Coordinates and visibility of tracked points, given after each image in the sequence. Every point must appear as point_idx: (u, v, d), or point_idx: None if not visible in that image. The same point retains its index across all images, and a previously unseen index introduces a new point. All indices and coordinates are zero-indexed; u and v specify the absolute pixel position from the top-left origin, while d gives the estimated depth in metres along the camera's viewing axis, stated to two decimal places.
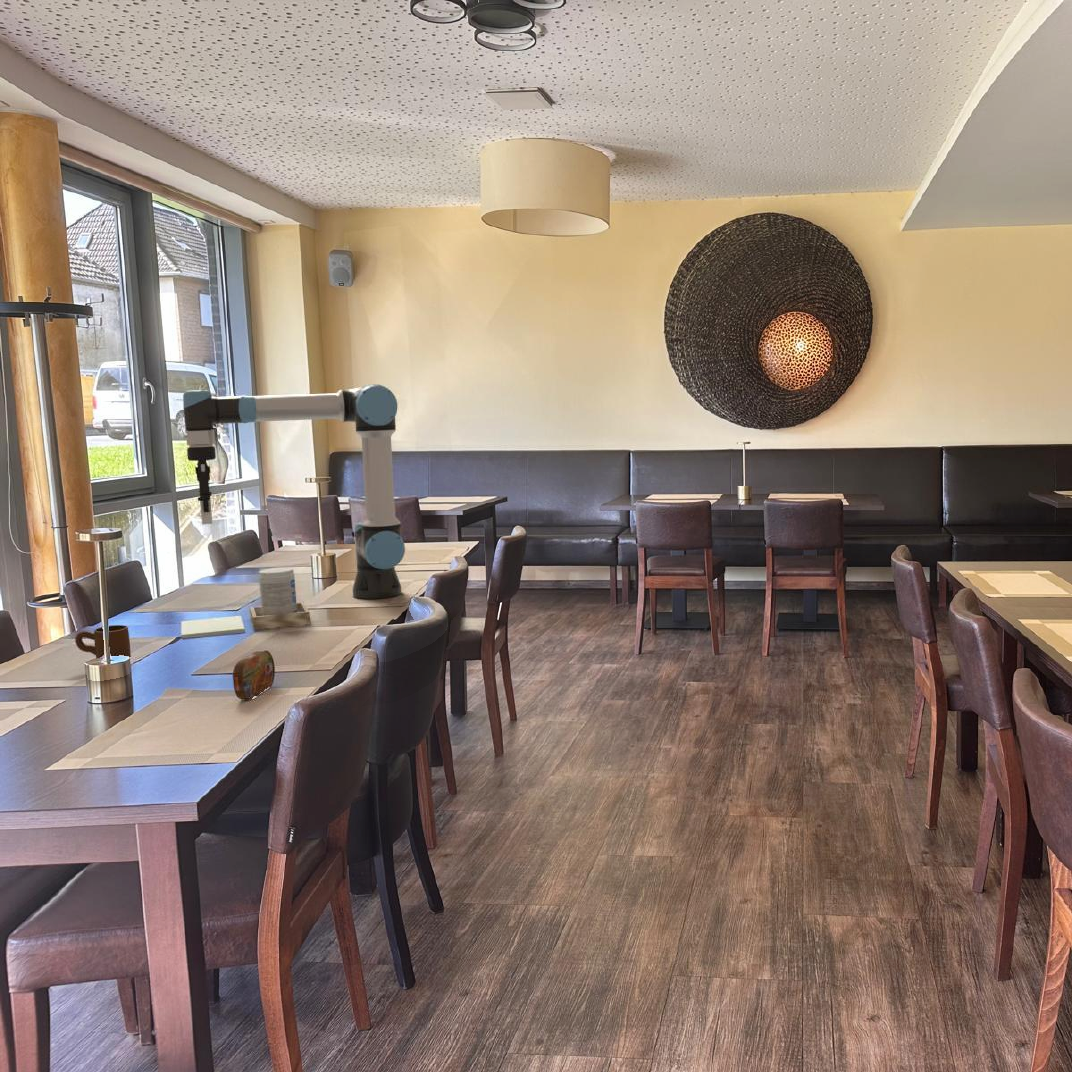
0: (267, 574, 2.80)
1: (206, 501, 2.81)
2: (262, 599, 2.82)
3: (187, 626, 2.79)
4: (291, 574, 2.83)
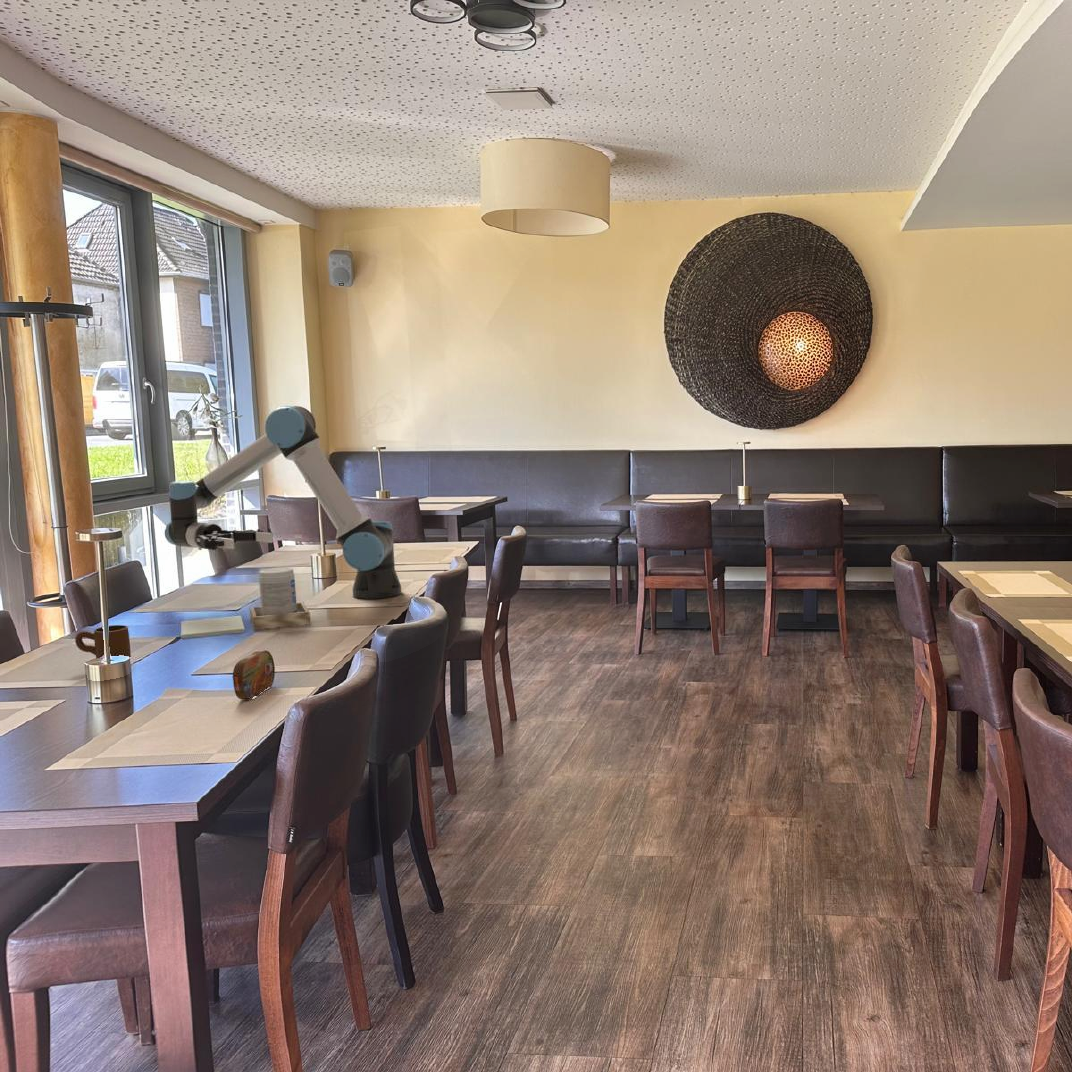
0: (267, 574, 2.80)
1: (213, 542, 2.85)
2: (262, 599, 2.82)
3: (187, 626, 2.79)
4: (291, 574, 2.83)
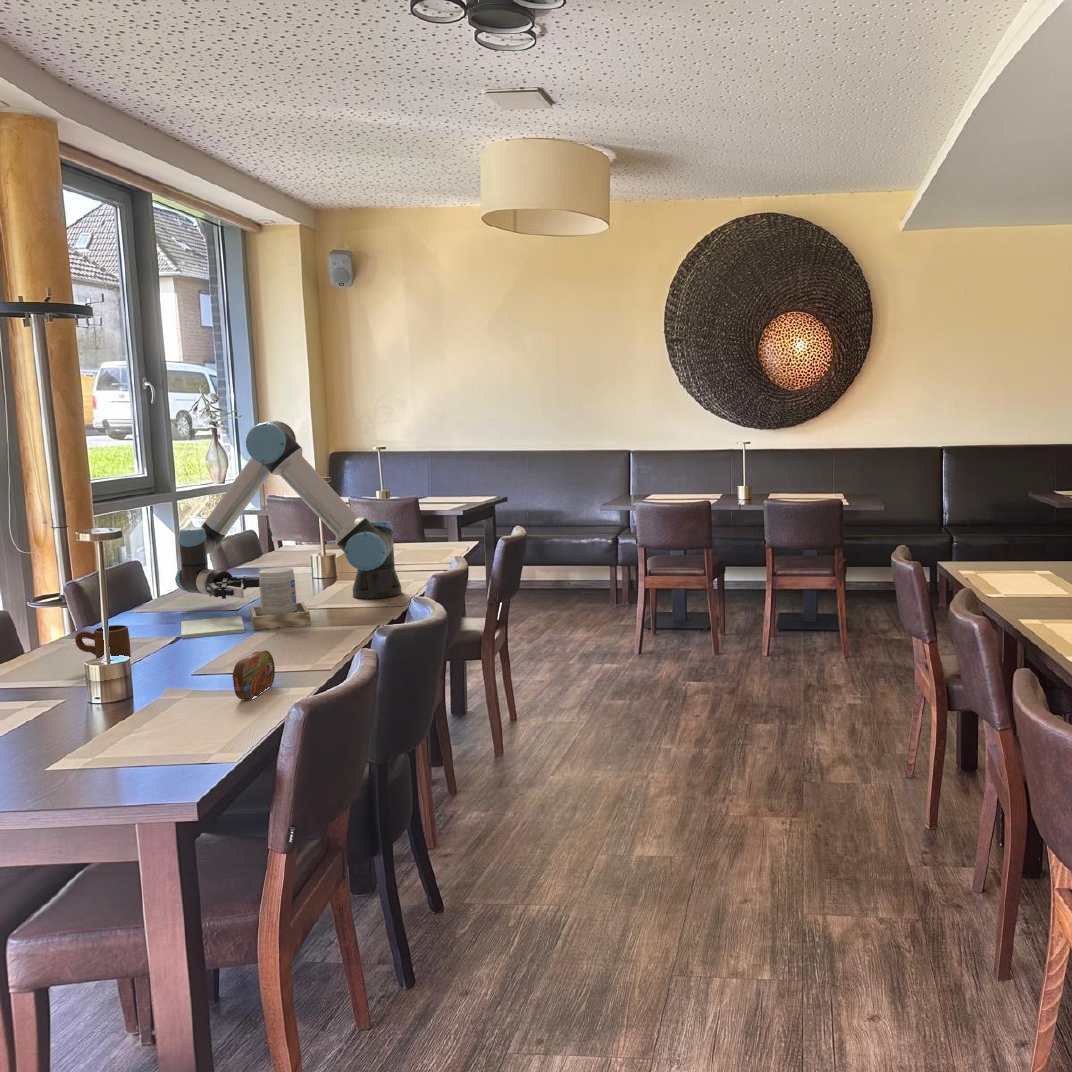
0: (267, 574, 2.80)
1: (223, 591, 2.85)
2: (262, 599, 2.82)
3: (187, 626, 2.79)
4: (291, 574, 2.83)
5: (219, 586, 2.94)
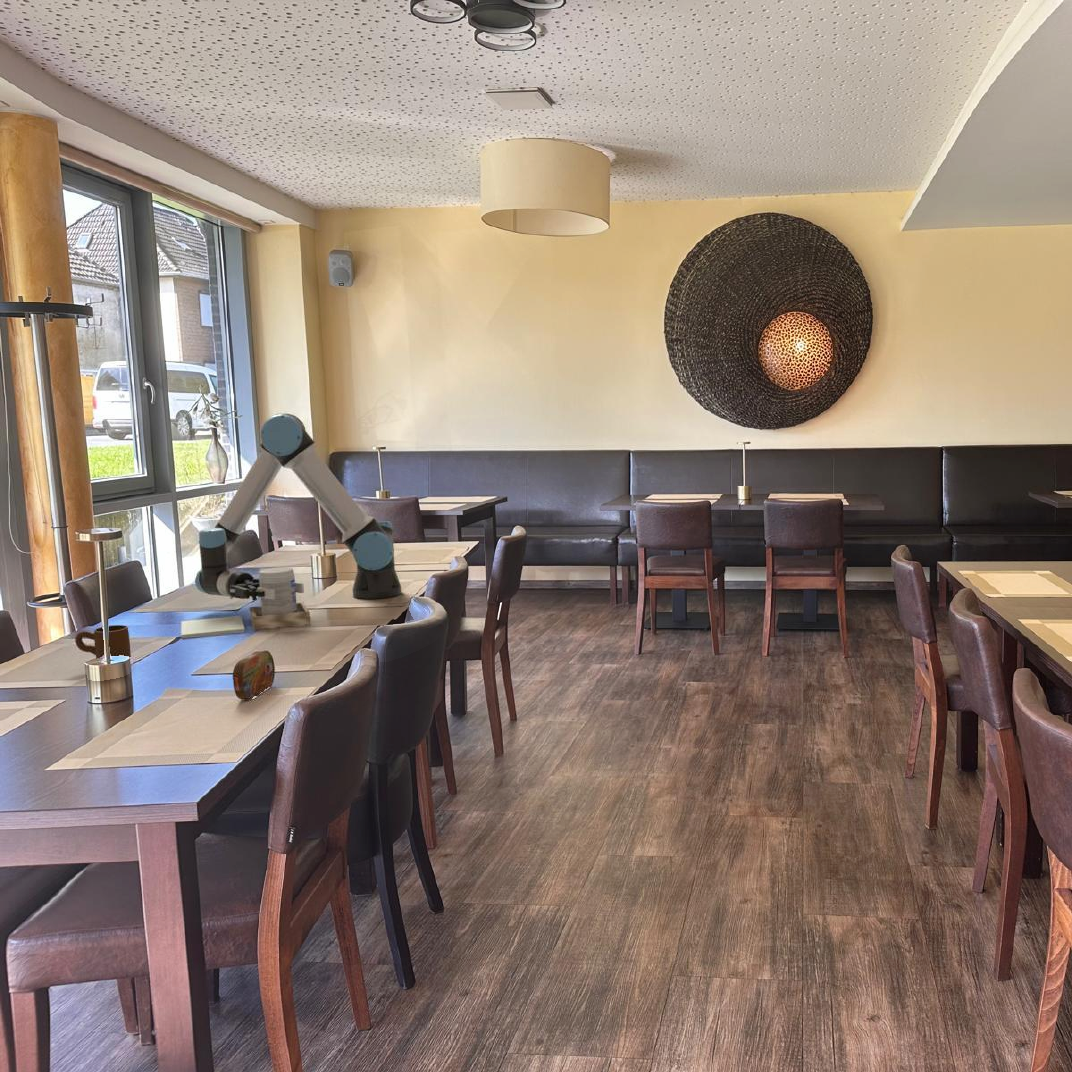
0: (267, 574, 2.80)
1: (254, 592, 2.80)
2: (262, 599, 2.82)
3: (187, 626, 2.79)
4: (291, 574, 2.83)
5: None
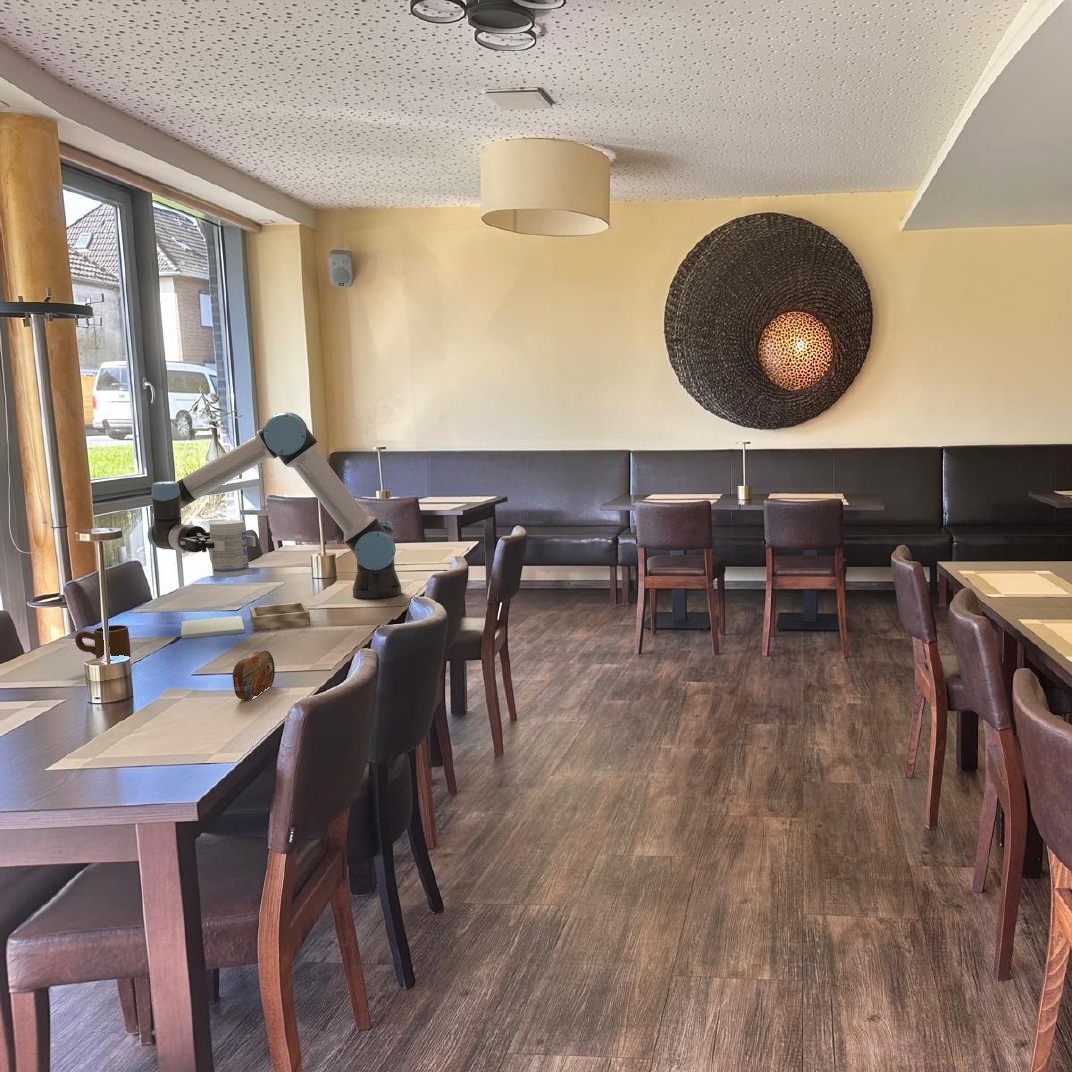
0: (217, 525, 2.74)
1: (203, 544, 2.75)
2: (212, 551, 2.77)
3: (187, 626, 2.79)
4: (242, 526, 2.77)
5: None
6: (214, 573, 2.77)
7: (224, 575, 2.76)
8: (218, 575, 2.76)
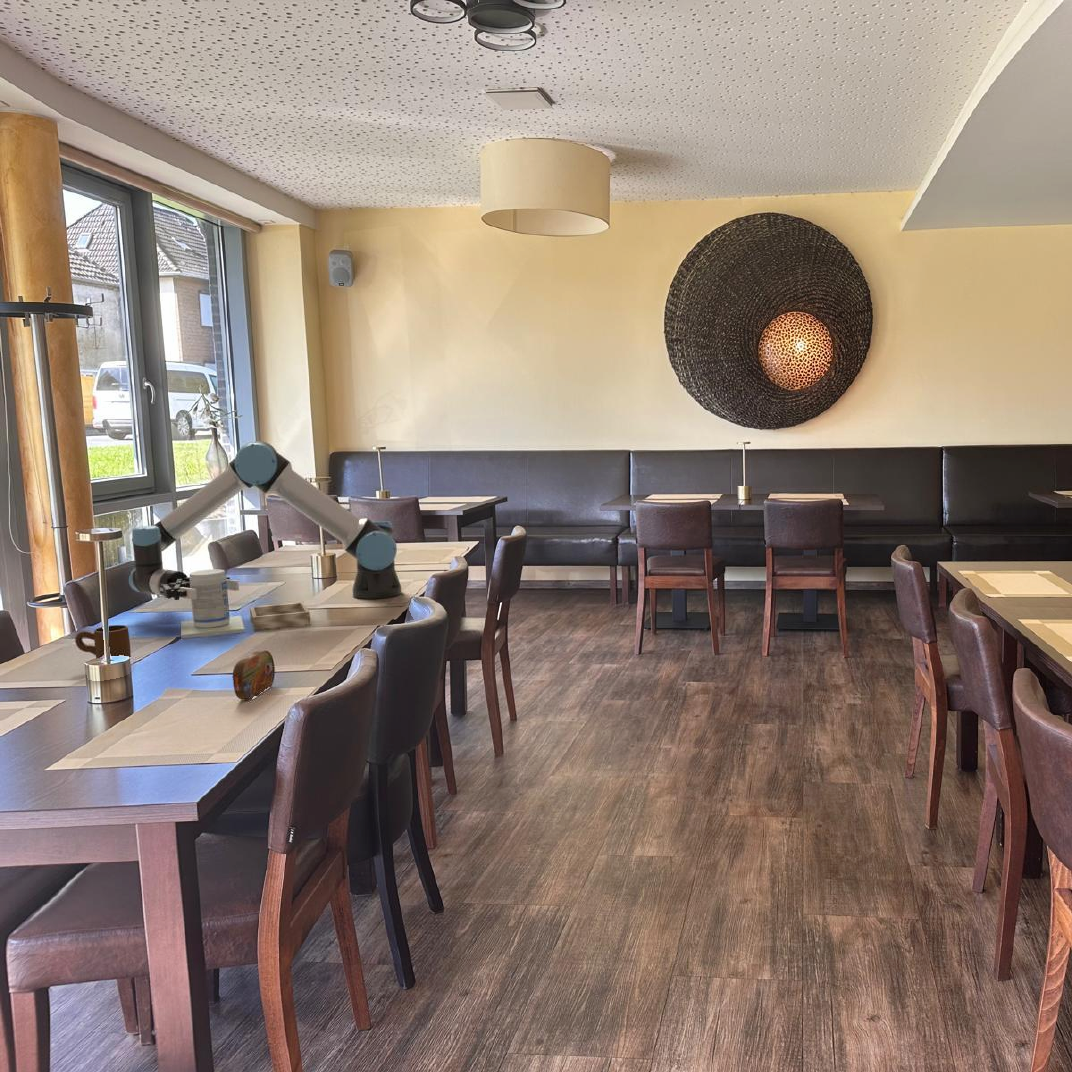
0: (197, 576, 2.74)
1: (176, 592, 2.74)
2: (192, 602, 2.76)
3: (187, 626, 2.79)
4: (222, 576, 2.77)
5: (173, 587, 2.83)
6: (195, 623, 2.77)
7: (205, 626, 2.75)
8: (198, 625, 2.76)
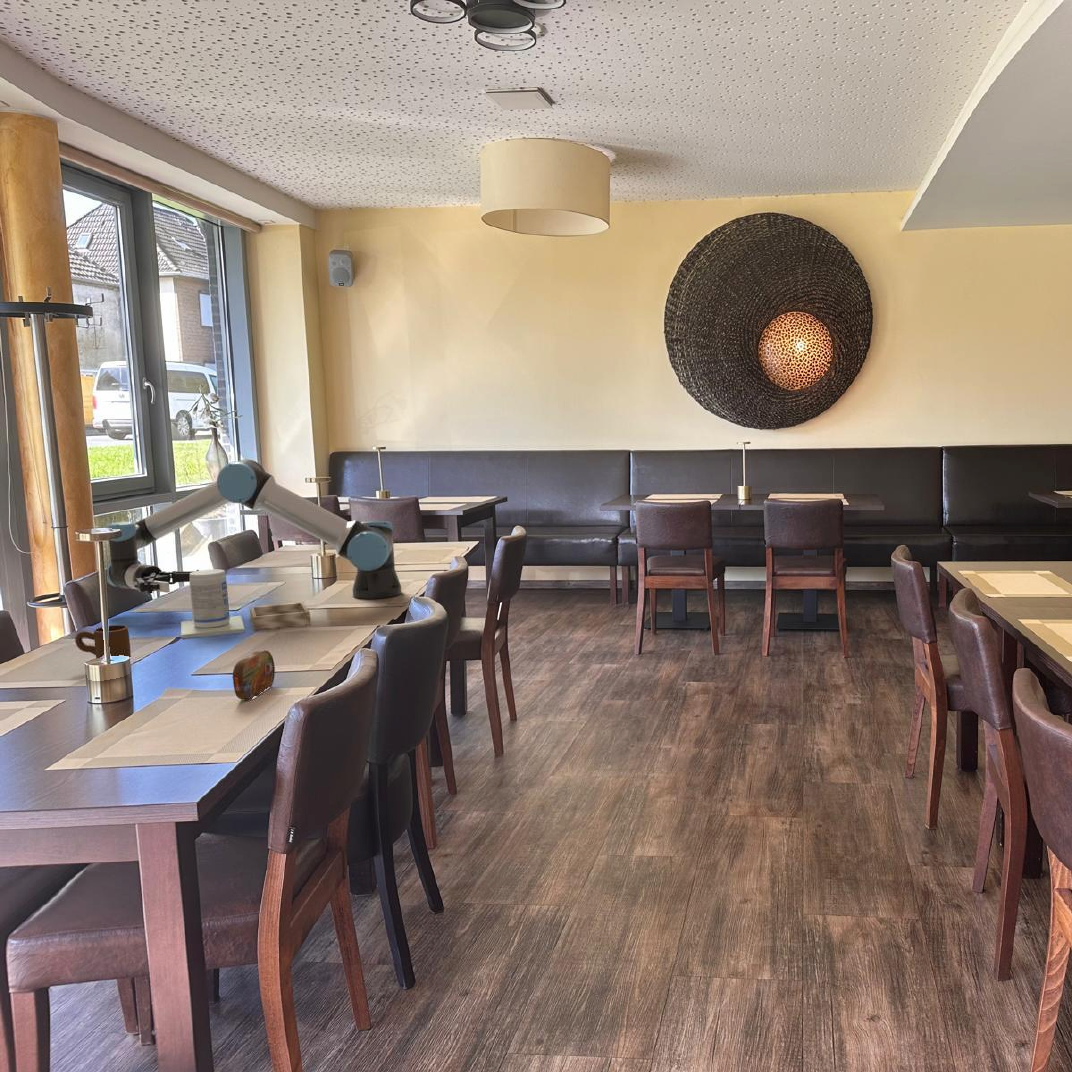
0: (197, 576, 2.74)
1: (149, 585, 2.82)
2: (192, 602, 2.76)
3: (187, 626, 2.79)
4: (222, 576, 2.77)
5: (147, 581, 2.91)
6: (195, 623, 2.77)
7: (205, 626, 2.75)
8: (198, 626, 2.76)
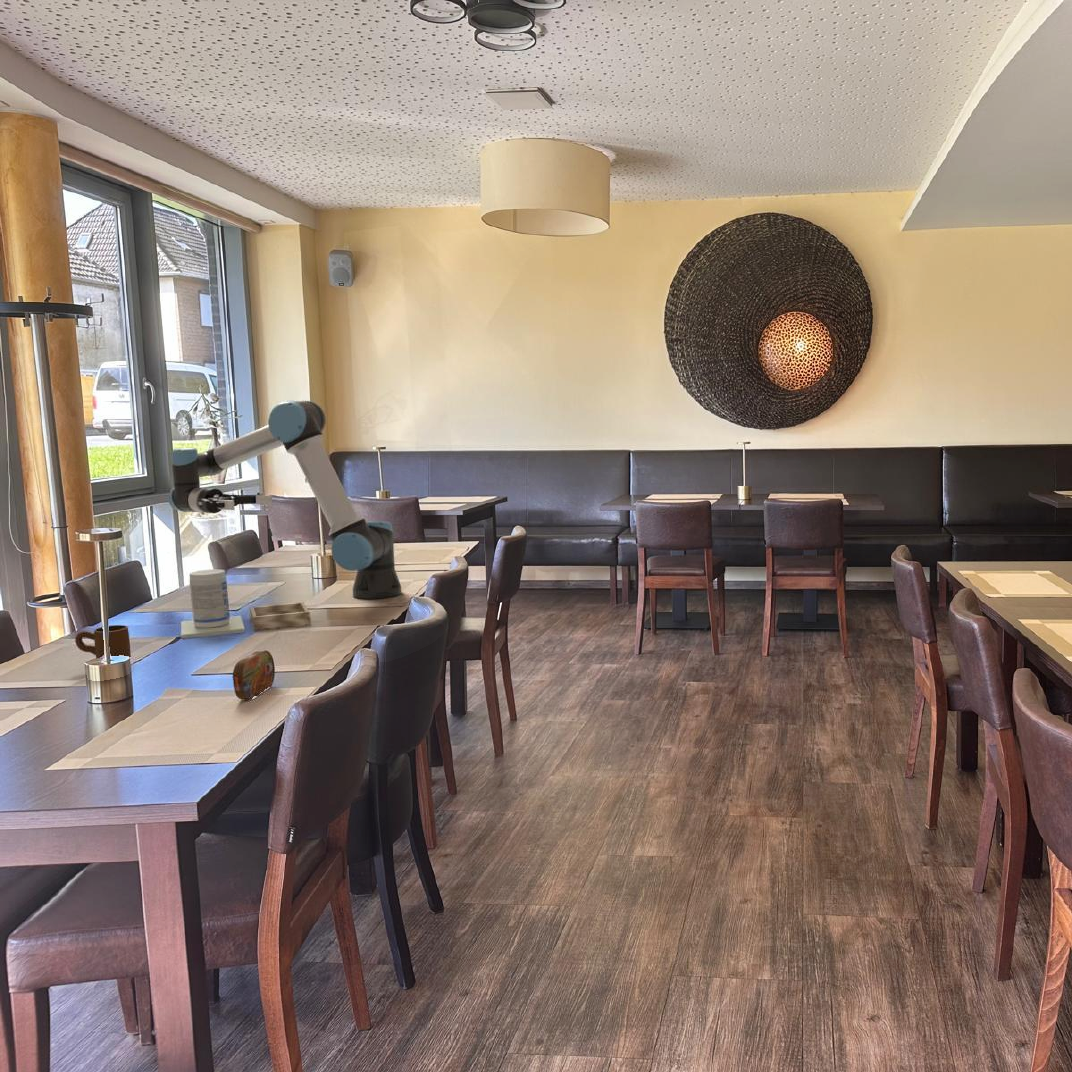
0: (197, 576, 2.74)
1: (214, 504, 2.94)
2: (192, 602, 2.76)
3: (187, 626, 2.79)
4: (222, 576, 2.77)
5: (210, 502, 3.03)
6: (195, 623, 2.77)
7: (205, 626, 2.75)
8: (198, 626, 2.76)
